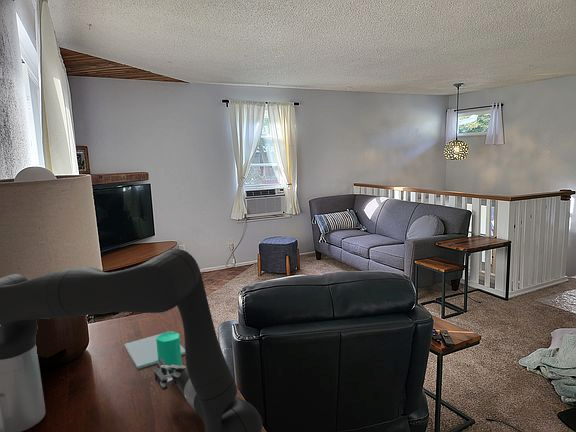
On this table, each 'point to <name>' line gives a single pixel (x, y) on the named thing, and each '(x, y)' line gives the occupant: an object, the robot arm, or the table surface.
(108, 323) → the table surface
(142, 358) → the tile
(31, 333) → the robot arm
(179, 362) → the candle
